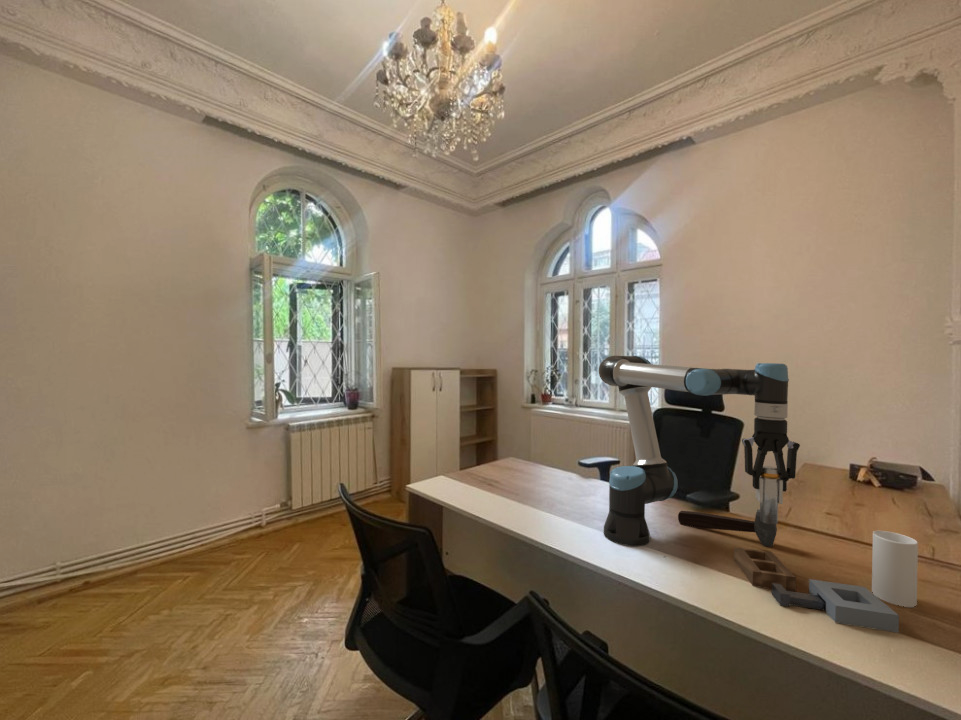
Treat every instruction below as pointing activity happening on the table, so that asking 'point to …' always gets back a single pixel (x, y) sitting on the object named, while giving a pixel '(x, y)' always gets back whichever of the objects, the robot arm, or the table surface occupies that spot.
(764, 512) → the rod
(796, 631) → the table surface
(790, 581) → the rack
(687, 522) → the hammer
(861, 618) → the socket block
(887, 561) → the cup
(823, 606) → the dark grey t-shaped block
